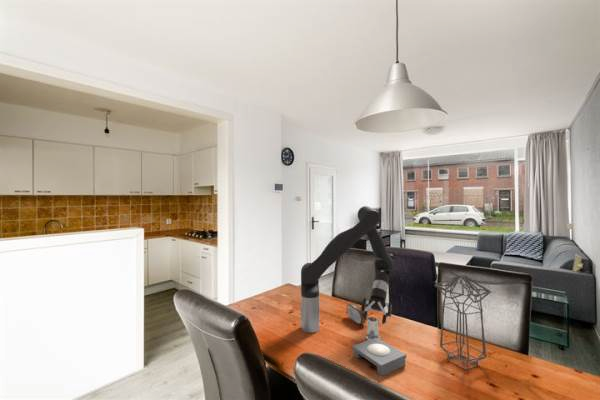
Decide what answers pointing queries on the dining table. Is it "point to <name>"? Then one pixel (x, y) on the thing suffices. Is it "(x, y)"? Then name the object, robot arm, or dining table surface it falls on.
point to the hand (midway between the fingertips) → (374, 321)
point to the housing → (372, 328)
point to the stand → (380, 355)
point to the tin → (355, 313)
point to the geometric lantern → (467, 280)
